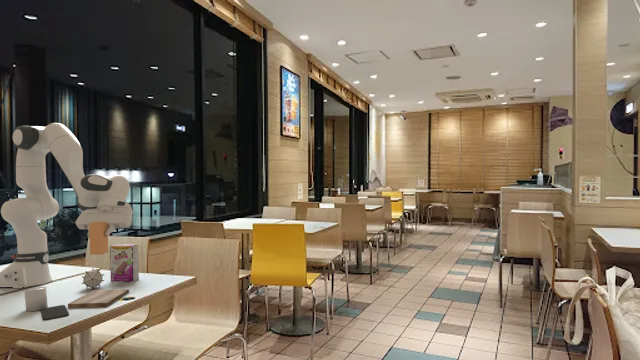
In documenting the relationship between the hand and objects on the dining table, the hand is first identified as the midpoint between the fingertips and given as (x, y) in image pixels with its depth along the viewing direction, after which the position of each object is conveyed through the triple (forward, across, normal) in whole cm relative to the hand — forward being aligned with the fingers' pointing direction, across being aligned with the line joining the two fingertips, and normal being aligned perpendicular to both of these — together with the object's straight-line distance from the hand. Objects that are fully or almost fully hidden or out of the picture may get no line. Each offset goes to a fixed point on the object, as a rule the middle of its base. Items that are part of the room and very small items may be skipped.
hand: (97, 235), depth 155 cm
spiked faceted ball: (+4, -12, +31) cm, 33 cm away
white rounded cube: (+23, -18, +11) cm, 32 cm away
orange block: (+4, 0, +5) cm, 7 cm away
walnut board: (+17, 0, +18) cm, 25 cm away
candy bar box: (-4, -4, +39) cm, 40 cm away
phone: (+27, -9, +8) cm, 30 cm away
